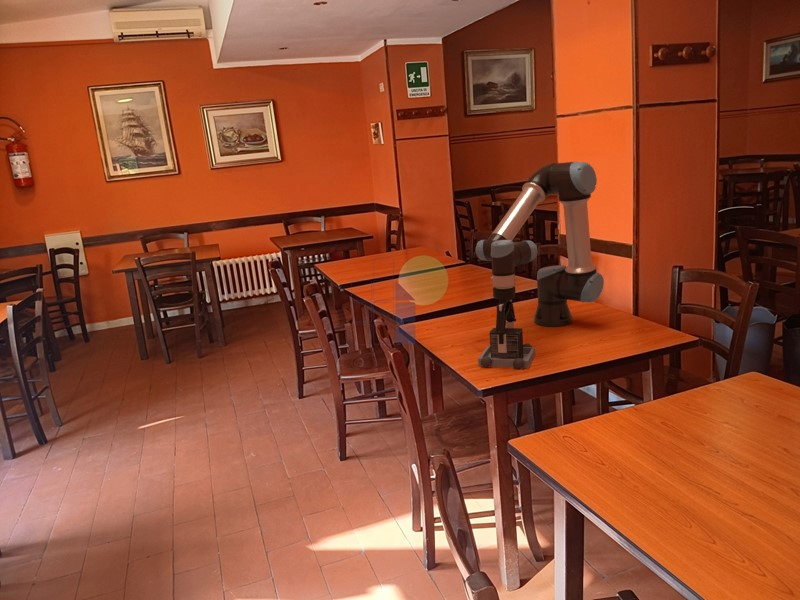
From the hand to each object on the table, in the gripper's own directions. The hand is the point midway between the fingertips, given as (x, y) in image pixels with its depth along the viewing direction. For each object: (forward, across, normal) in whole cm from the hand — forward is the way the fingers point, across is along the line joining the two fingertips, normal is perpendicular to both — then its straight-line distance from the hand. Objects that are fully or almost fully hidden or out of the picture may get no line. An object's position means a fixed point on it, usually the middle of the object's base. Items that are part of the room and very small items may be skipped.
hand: (506, 346), depth 208 cm
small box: (+5, 0, 0) cm, 5 cm away
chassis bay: (+5, 0, 0) cm, 5 cm away
